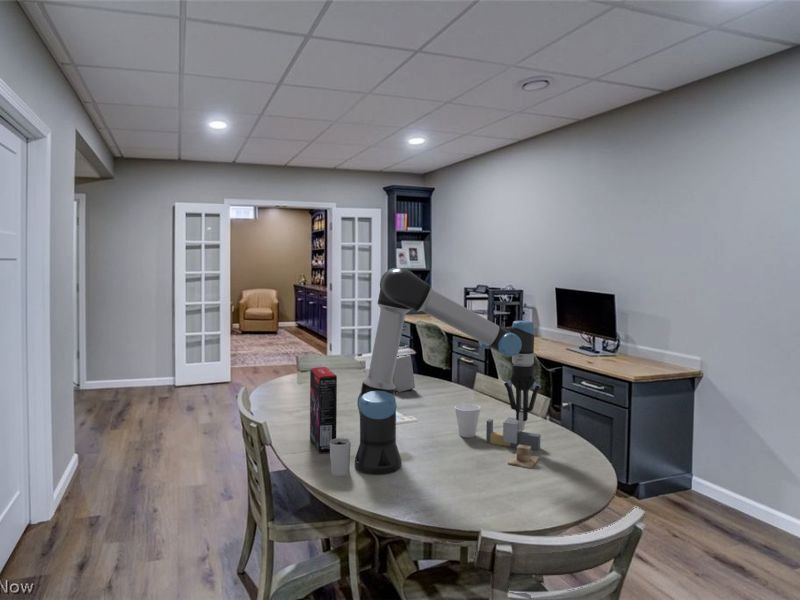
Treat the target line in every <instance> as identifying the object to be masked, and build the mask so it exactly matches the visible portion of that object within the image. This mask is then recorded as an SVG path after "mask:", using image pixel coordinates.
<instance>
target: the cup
mask: <svg viewBox="0 0 800 600" xmlns="http://www.w3.org/2000/svg"><path fill="white" fill-rule="evenodd" d="M454 410H455V416H456V422H457V427H458V428H457V429H458V434H459V436H460V437H462V438H466V439H467V438H469V439H470V438H474V437H475V436H476V434H477V427H478V424H479V423H478V422H479V418H480V417H479V416H480V411H481V410H482V407H481V406H480V405H477V404H473V403H460V404H457V405H455V406H454Z"/></svg>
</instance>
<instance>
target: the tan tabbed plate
mask: <svg viewBox="0 0 800 600" xmlns="http://www.w3.org/2000/svg"><path fill="white" fill-rule="evenodd" d="M531 453H532V450H531V446H526V445H520V444H519V445H518V446H517V447H516V452H515V453H514V454H513V456H512V457H511V458H510V459H509V461H508V462H507V465H509V466H514V467H516V466H517V467H521V468H526V469H533V468H534V467H535V465H536V463H537V462H538V461H539V459H540V456H536V455H532V454H531Z"/></svg>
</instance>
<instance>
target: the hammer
mask: <svg viewBox="0 0 800 600" xmlns="http://www.w3.org/2000/svg"><path fill="white" fill-rule="evenodd" d="M485 439H486V443H487V444H491V445H492V444H493V445H500V446H506V447H513V448H517V446H518V445H519V444H520V445H526V446H531V451H537V452H538V451H540V449H541V433H540V434H539V433H533V432H525V431H522V432H520V433H519V434H518V443H517V444H515V443H508V442H503V432H500V431H499V432H498V431H494V419H493V418H492V419H491V418H489V419H487V420H486V438H485Z"/></svg>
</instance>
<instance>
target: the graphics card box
mask: <svg viewBox="0 0 800 600" xmlns="http://www.w3.org/2000/svg"><path fill="white" fill-rule="evenodd" d="M309 370H310V371H309V379H310V380H309V381H310V382H309V389H310V390H309V441H310V442H311V443H312V445H313V447H314V448H315V449H316V451H317V452H318V454H324V453H330V440H332V439H336V438H337V420H338V419H337V414H338V412H337V409H338V408H337V407H338V405H337V404H338V403H337V400H338V398H337V397H338V396H337V394H338V391H337V388H338V387H337V384H338V376H337V375H336V374H335V372H333V371H331V370H330V369H329V368H328V367H327V366H317V367H313V368H310V369H309Z"/></svg>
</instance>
